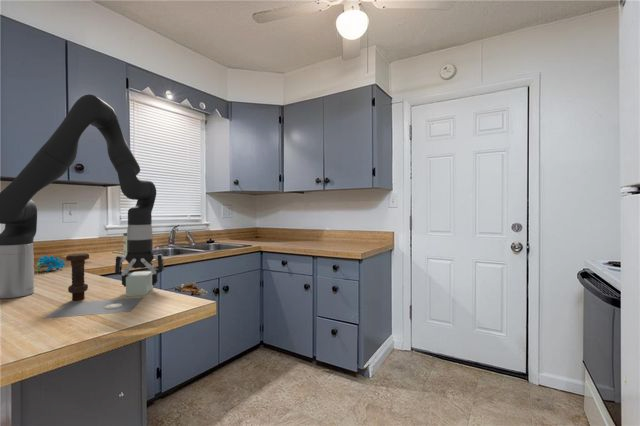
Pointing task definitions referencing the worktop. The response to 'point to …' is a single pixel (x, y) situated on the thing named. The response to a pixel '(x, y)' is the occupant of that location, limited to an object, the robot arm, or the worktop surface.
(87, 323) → the worktop surface
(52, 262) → the blue flower cluster
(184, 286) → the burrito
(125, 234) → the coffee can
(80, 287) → the bolt
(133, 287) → the pale green block
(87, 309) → the board
